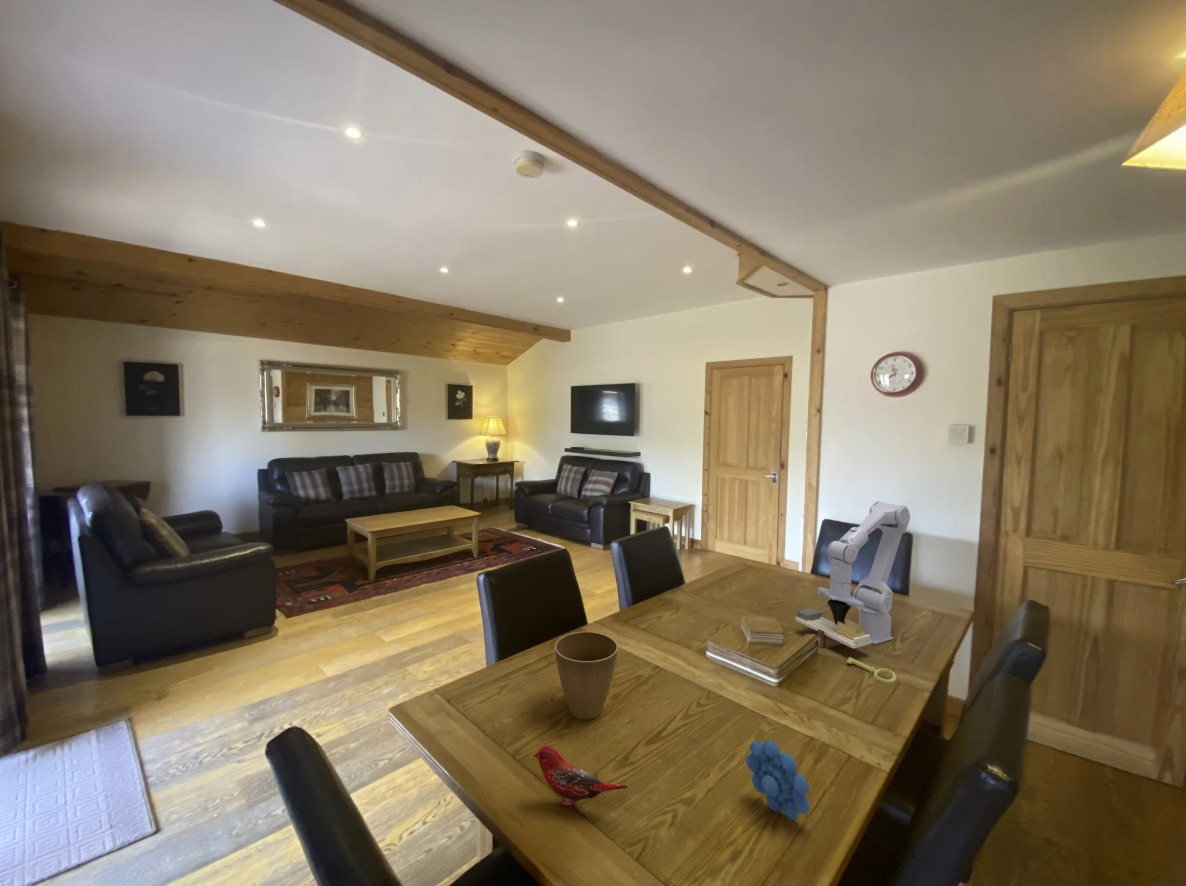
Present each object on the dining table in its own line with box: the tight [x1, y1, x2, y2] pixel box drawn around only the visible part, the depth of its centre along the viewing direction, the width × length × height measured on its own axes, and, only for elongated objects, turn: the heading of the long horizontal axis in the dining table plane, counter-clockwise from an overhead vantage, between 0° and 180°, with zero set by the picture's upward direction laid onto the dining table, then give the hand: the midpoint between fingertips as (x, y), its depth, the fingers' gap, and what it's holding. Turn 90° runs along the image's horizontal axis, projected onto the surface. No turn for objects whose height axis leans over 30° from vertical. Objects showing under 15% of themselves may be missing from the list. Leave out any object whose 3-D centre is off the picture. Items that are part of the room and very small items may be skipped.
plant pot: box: [554, 631, 619, 720], centre depth 115 cm, size 15×15×16 cm
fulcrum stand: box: [817, 629, 844, 649], centre depth 153 cm, size 3×10×5 cm, turn 115°
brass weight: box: [837, 618, 865, 640], centre depth 146 cm, size 6×4×4 cm
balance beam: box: [795, 607, 873, 649], centre depth 152 cm, size 21×8×3 cm, turn 25°
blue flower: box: [745, 740, 811, 821], centre depth 86 cm, size 12×7×12 cm, turn 44°
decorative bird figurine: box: [533, 745, 629, 808], centre depth 86 cm, size 3×18×10 cm, turn 73°
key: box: [846, 656, 898, 684], centre depth 135 cm, size 7×12×2 cm, turn 56°
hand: (838, 624), depth 150 cm, fingers closed
